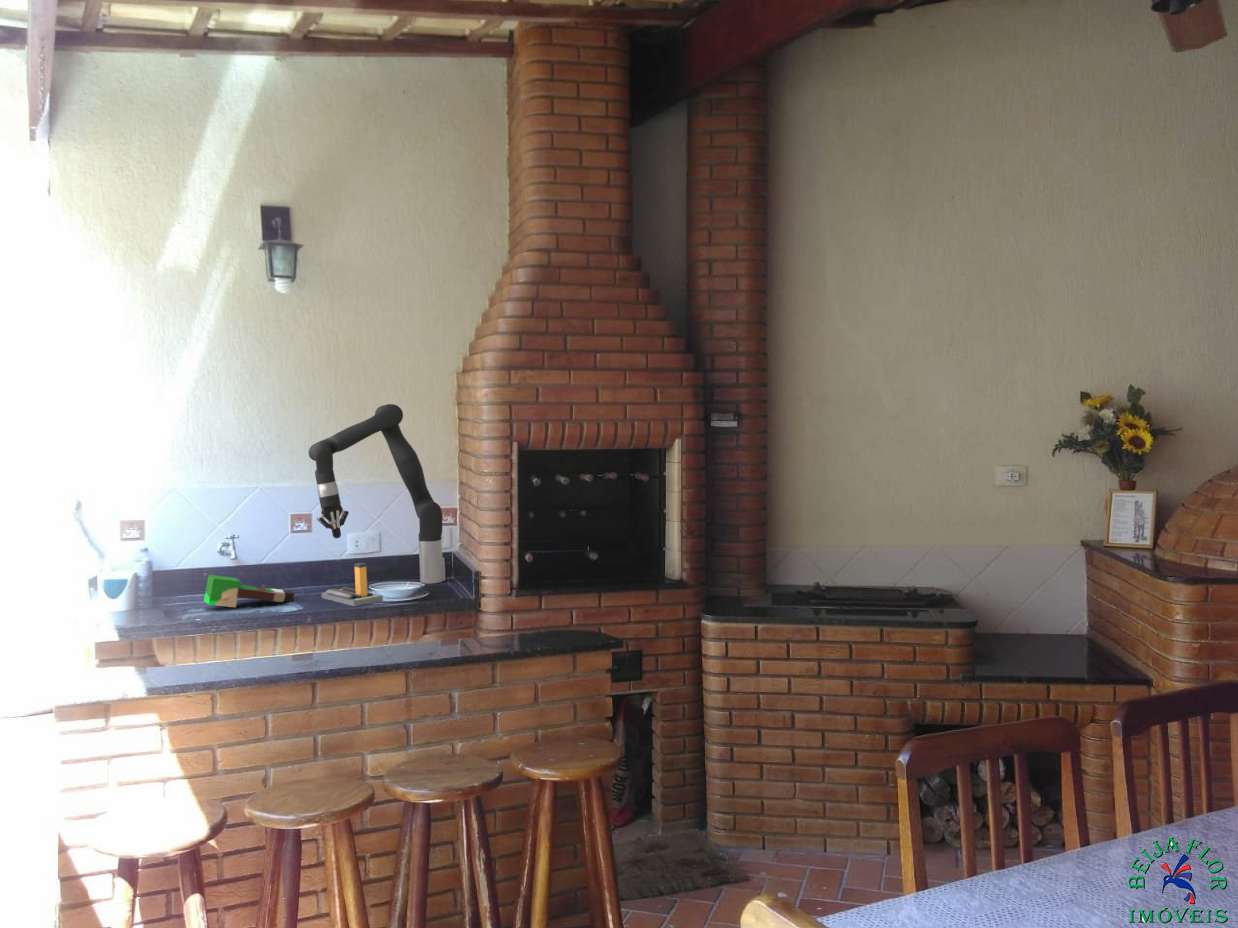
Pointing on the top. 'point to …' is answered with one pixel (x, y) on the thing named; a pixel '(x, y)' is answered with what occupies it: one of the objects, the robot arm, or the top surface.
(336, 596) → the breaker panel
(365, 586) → the lever
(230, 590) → the toy
